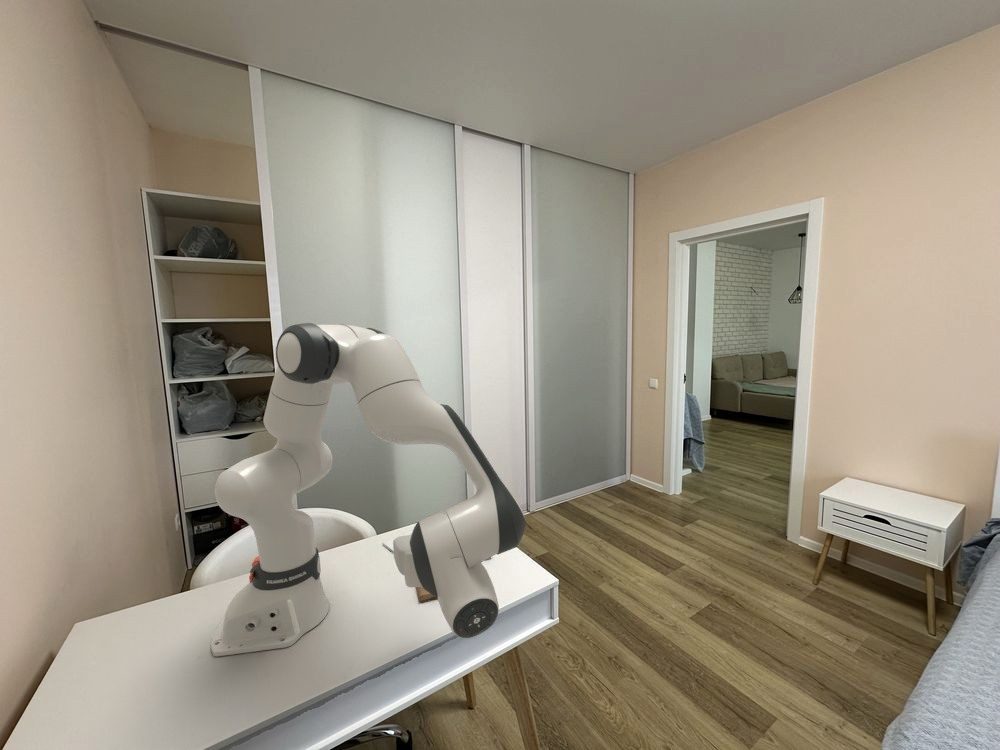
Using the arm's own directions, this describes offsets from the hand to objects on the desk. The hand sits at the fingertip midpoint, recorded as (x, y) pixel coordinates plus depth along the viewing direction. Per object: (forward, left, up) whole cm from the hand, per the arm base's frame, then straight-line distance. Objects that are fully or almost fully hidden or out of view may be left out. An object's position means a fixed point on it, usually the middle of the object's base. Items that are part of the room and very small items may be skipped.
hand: (439, 525), depth 86 cm
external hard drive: (-5, +36, -22) cm, 43 cm away
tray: (0, +12, -21) cm, 25 cm away
